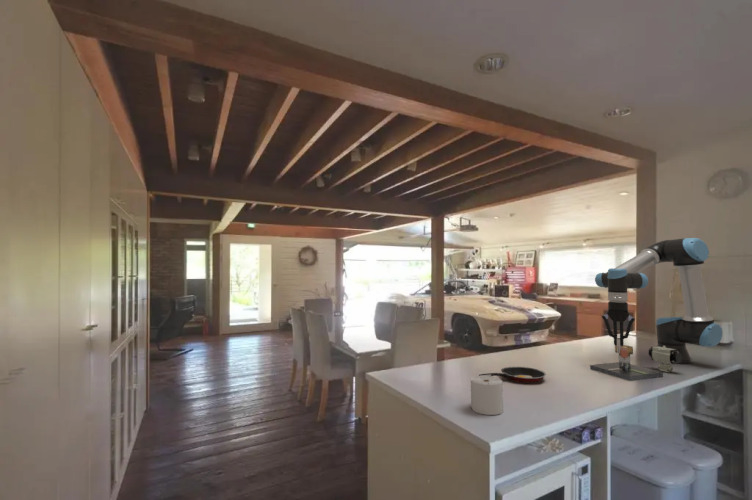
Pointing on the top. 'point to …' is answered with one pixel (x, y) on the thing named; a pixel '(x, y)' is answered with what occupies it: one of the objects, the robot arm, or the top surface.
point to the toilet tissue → (486, 395)
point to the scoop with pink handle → (625, 350)
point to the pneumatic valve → (665, 357)
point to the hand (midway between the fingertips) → (618, 352)
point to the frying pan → (521, 374)
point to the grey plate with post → (626, 370)
